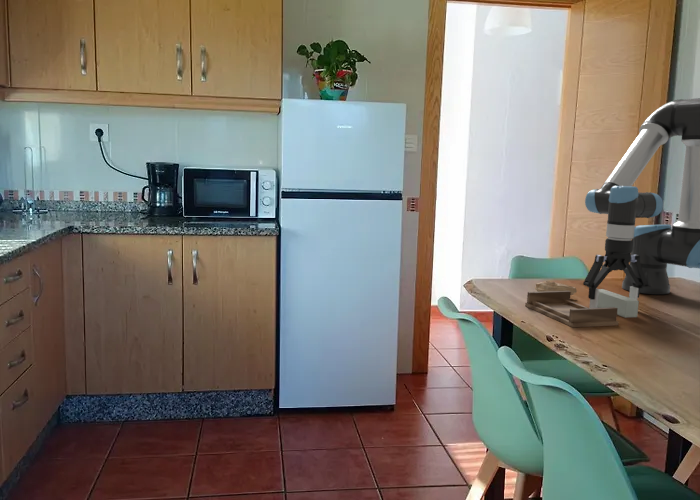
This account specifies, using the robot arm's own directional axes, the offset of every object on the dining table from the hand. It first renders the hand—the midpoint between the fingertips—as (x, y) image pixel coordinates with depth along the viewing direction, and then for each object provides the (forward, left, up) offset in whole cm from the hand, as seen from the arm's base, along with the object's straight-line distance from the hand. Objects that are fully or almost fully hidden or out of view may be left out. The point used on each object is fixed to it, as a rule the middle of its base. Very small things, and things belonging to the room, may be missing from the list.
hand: (612, 309), depth 184 cm
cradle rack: (+17, +3, 0) cm, 17 cm away
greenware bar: (0, 0, -1) cm, 1 cm away
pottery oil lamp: (+8, -18, -1) cm, 20 cm away
